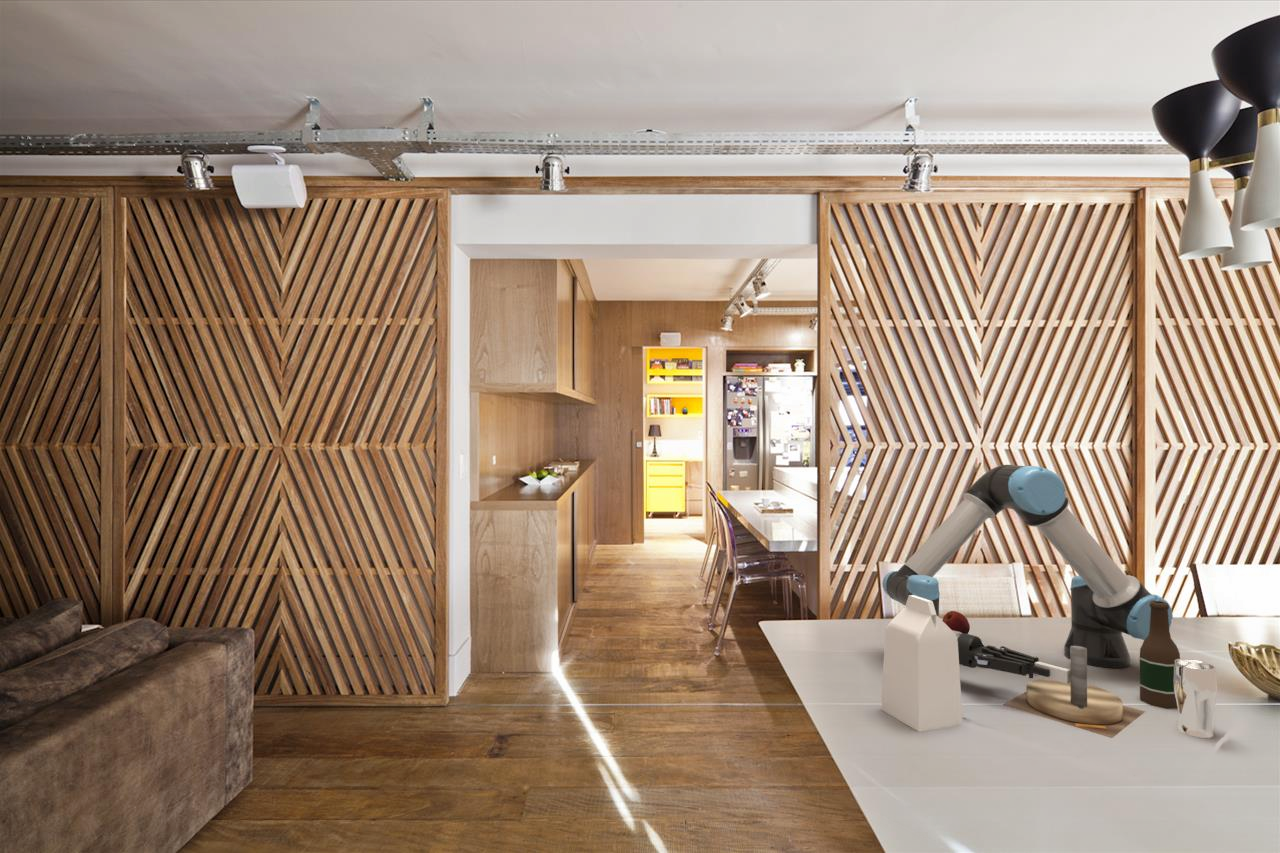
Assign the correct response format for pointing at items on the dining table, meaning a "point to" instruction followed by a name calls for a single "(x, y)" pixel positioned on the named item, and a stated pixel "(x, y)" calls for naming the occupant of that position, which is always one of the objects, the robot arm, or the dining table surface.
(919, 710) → the milk
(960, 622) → the apple
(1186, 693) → the beer glass
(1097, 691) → the cam dial
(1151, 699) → the beer bottle
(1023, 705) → the dial base
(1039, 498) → the robot arm
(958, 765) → the dining table surface
